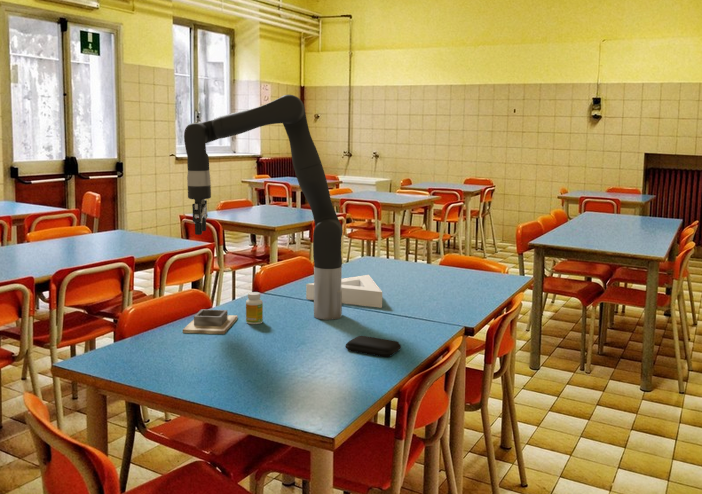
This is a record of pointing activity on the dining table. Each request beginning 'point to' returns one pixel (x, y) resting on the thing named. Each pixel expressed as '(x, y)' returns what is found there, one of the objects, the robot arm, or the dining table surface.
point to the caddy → (211, 322)
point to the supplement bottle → (254, 308)
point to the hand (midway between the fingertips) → (200, 232)
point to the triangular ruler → (355, 291)
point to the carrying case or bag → (373, 346)
